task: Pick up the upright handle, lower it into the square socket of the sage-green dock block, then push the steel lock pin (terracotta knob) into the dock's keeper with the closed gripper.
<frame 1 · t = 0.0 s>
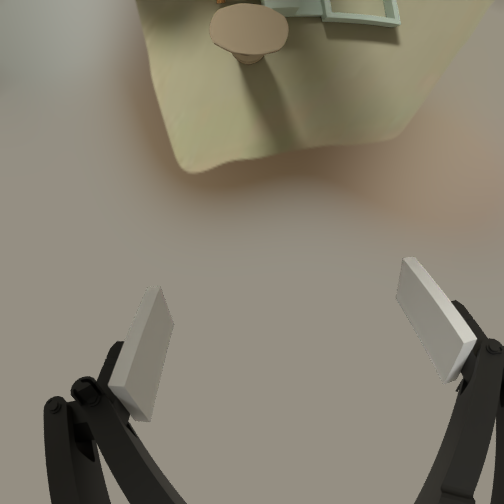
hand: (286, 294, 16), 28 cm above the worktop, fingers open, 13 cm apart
handle: (248, 53, 32), on the worktop
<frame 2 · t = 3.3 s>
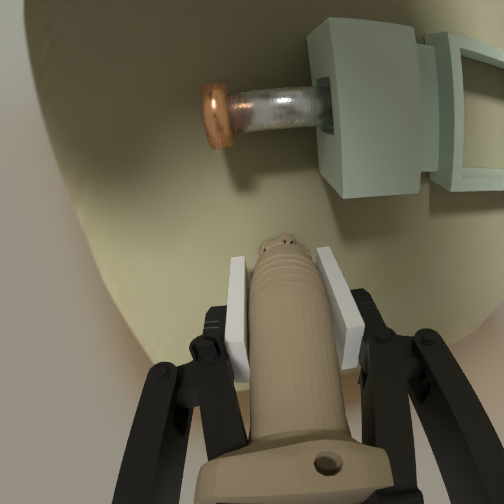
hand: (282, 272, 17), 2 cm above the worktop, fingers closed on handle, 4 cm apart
dock: (485, 115, 14), on the worktop
handle: (282, 252, 19), on the worktop, touching gripper
lock pin: (283, 107, 13), point 2 cm above the worktop, slide at 0.0 cm
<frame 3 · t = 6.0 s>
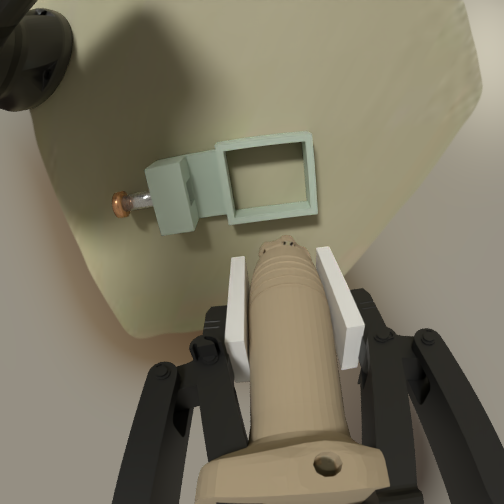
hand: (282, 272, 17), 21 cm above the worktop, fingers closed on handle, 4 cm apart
dock: (267, 174, 35), on the worktop
handle: (282, 253, 19), point 18 cm above the worktop, touching gripper
lock pin: (143, 200, 34), point 2 cm above the worktop, slide at 0.0 cm
when the fingers open (4 cm above the worktop, at t = 8.6 s): handle drops 2 cm, resting in dock.
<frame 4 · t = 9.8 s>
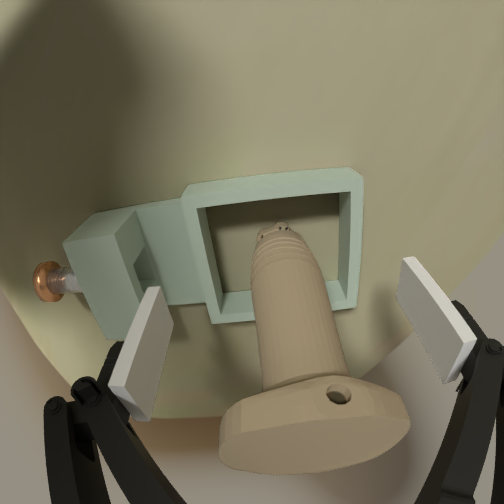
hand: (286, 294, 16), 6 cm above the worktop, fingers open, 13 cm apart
dock: (276, 240, 21), on the worktop
handle: (277, 239, 21), resting in dock
lock pin: (76, 279, 20), point 2 cm above the worktop, slide at 0.0 cm
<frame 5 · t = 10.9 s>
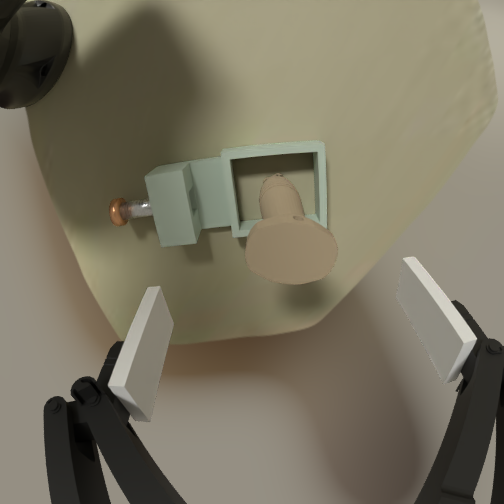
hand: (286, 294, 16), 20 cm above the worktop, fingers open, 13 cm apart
dock: (275, 185, 33), on the worktop
handle: (275, 185, 34), resting in dock
lock pin: (142, 208, 32), point 2 cm above the worktop, slide at 0.0 cm
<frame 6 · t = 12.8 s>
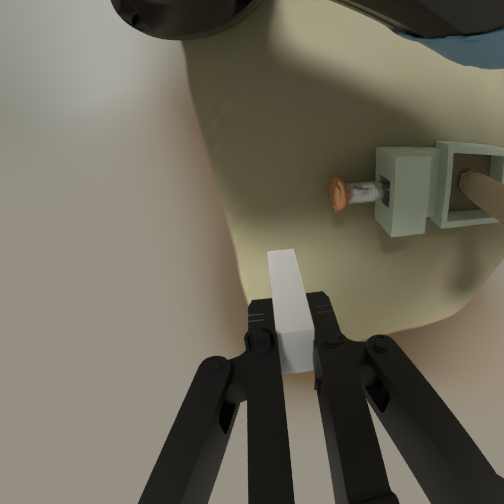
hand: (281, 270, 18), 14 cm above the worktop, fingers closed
dock: (465, 180, 29), on the worktop
handle: (465, 180, 29), resting in dock
lock pin: (366, 192, 27), point 2 cm above the worktop, slide at 0.0 cm
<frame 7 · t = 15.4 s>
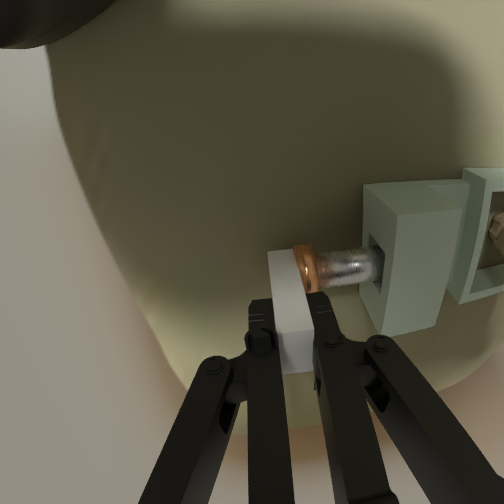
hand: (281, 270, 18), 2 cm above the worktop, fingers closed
dock: (499, 225, 18), on the worktop
handle: (498, 224, 18), resting in dock
lock pin: (356, 266, 16), point 2 cm above the worktop, slide at 0.8 cm, touching gripper
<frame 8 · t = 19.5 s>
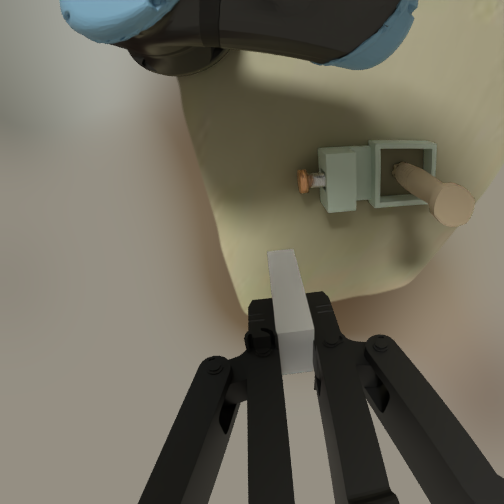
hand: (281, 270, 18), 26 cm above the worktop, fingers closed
dock: (399, 170, 41), on the worktop
handle: (399, 170, 41), resting in dock
lock pin: (324, 179, 39), point 2 cm above the worktop, slide at 2.2 cm
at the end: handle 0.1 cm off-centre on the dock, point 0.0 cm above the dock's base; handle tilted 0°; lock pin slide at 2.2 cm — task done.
